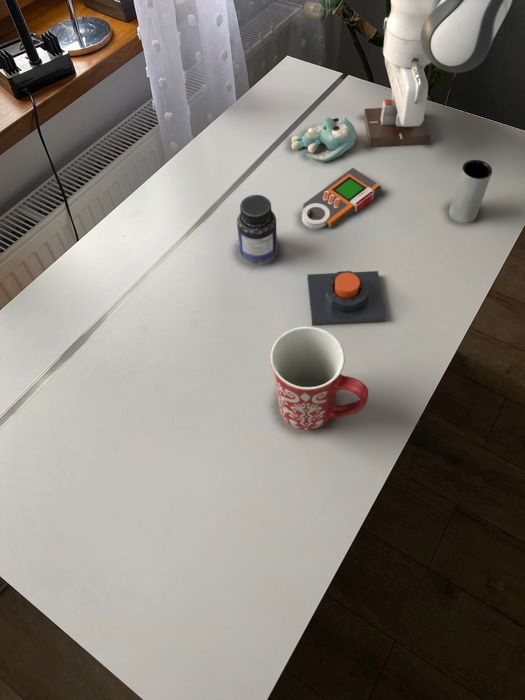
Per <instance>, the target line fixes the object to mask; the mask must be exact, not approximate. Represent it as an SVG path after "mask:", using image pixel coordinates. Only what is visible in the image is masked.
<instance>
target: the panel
mask: <svg viewBox="0 0 525 700" xmlns="http://www.w3.org/2000/svg"><path fill="white" fill-rule="evenodd" d="M381 113H382V107H374V108H364V112H363V123H364V127H365V131H366V136H367V141H368V147H369V148H370V149H371V148H388V147H389V148H390V147H406V146H407V147H408V146H409V147H410V146H427V145H430V141H431V137H432V135H431V131H430V128H429V124H428V121H427V118H426V115H425V114H424V119H423V122H422V124H421V125H419V126H411V127H403V126H396V124H394V125H382V123H381Z"/></svg>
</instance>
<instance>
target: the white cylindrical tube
mask: <svg viewBox="0 0 525 700" xmlns="http://www.w3.org/2000/svg"><path fill="white" fill-rule="evenodd" d="M492 175H493V168H492V166H491V165H490V164H489V163H487V162H486V161H484V160H480V159H470V160H467V161H466V162H465V163H464V164H463V165H462V167H461V169H460V174H459V177H458V180H457V183H456V187H455V190H454V194H453V196H452V200H451V204H450V207H449V211H448V214H449V216H450V217H451V218H452V219H453V220H454V221H456V222H458V223H462V224H467V223H472V222H473V221H475V220H476V219H477V216H478V214H479V211H480V207H481V205H482V202H483V199H484V197H485V194H486V192H487V191H486V190H487V188H488V185H489V182H490V180H491V177H492Z"/></svg>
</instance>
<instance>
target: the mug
mask: <svg viewBox="0 0 525 700" xmlns="http://www.w3.org/2000/svg"><path fill="white" fill-rule="evenodd" d="M269 360H270V366H271V369H272V371H273V376H274V383H275V390H276V396H277V401H278V410H279V413H280V416H281V417H282V419H283V421H285V423H286V424H287V425H289V426H291V427H292V428H295V429H297V430H301V431H311V430H316V429H319V428H321V427H322V426H324V425H326V423H327V422H328V421H329V420H330V419H332V418H341V417H347V416H351V415H353V414H357V413H358V412H360V411H362V409H364V407H365V406H366V404H367V402H368V398H369V389H368V387H367V385H366V384H365V383H364V382H363V381H361V380H359V379H357V378H354V377H352V376H347V375H344V374H342V372H343V370H344V367H345V361H346V355H345V350H344V348H343V345H342V343H341V342H340V341H339V339H338V338H337V337H336V336H335V335H333V334H332V333H331V332H330V331H327V330H325V329H323V328H320V327H317V326H316V327H315V326H298V327H295V328H292V329H289V330H287V331H285V332H284V333H282V334H281V335H280V336H279V337H278V338H277V339H276V340H275V342H274V343H273V345H272V348H271V350H270V356H269ZM339 391H348V392H350V393H352V394H354V395H356V396H357V397H358V399H357V400H356V401H353V402H349V403H345V404H337V403H335V400H336V396H337V393H338V392H339Z"/></svg>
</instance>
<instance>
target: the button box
mask: <svg viewBox="0 0 525 700" xmlns="http://www.w3.org/2000/svg"><path fill="white" fill-rule="evenodd" d="M342 273H352V274H354V275H356V276H357V277H358V278H359V280H360V286H359V291H358V294H357V295H356V296H355V297H353V298H349V299H346V298H342V297H340V296H338V295H337V294H336V292H335V280H336V278H337V276H339V275H340V274H342ZM306 282H307V290H308V301H309V312H310V322H311V327H315V326H332V325H351V324H352V325H353V324H374V323H375V324H376V323H386V320H387V313H386V307H385V303H384V301H385V300H384V297H383V296H384V295H383V291H382V285H381V280H380V274H379V270H372V271H371V270H369V271H351V270H343V271H342V270H341V271H337V272H331V273H330V272H329V273H328V272H327V273H309V274H307V275H306Z"/></svg>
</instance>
